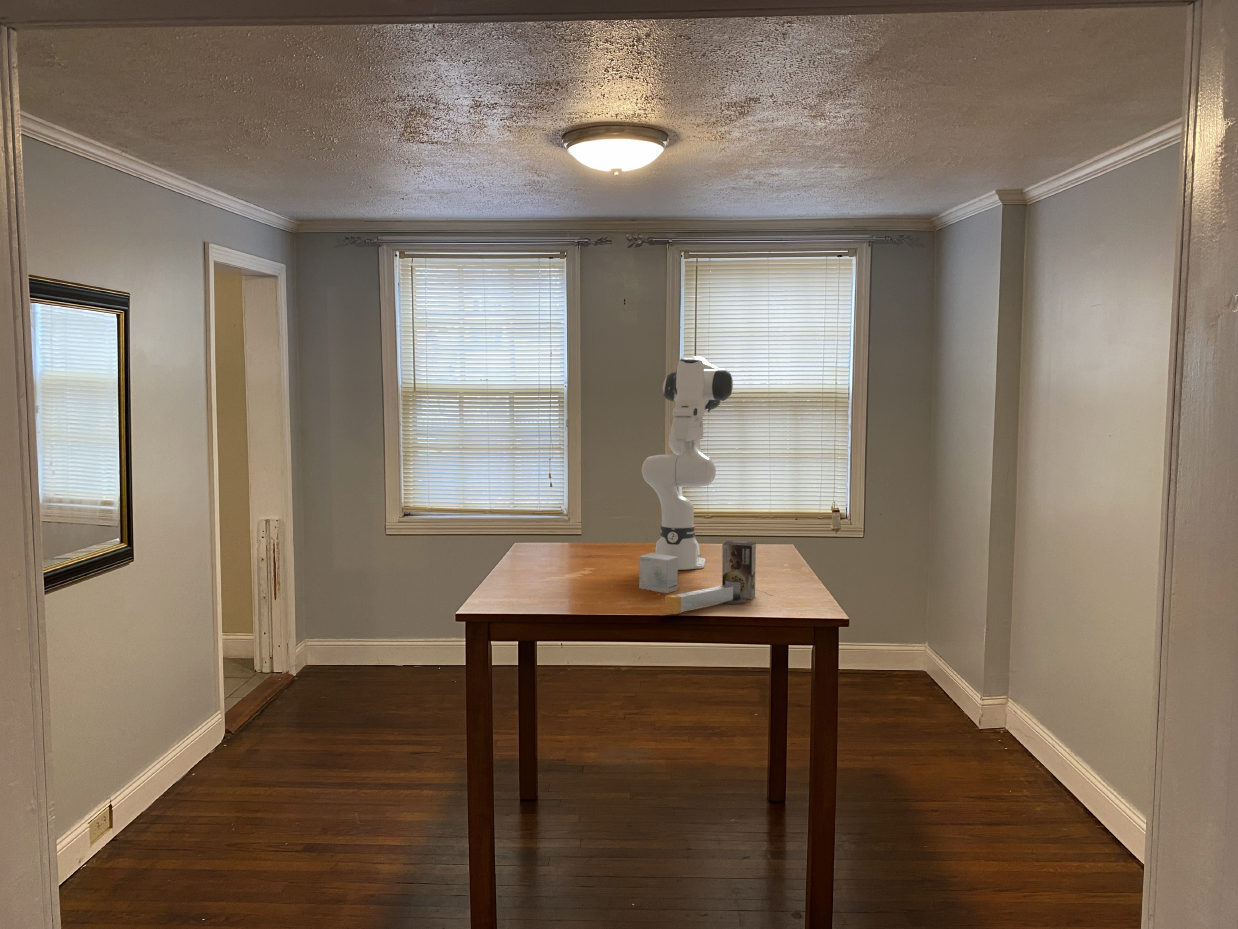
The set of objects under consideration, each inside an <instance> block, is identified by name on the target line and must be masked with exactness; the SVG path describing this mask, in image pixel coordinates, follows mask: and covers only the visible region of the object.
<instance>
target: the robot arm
mask: <svg viewBox="0 0 1238 929" xmlns="http://www.w3.org/2000/svg"><path fill="white" fill-rule="evenodd" d="M676 368H677V369H676V371H672V372H670V373H669V374H667V375H666V377H665V379H664V381H663V385H662V391H663V396H664V398H665V400H668V401H670V402H673V403H674V402H675V406H674V407H673V409H672V416H673V420H672V424H671V427H670V432H669V438H668V447H669V449H670V450H671V452H672V453H674V454H656V455H651V456H647V457H646V459H644V461H643V463H642V466H641V475H642V479H643V480H644V481H645V483H646V484H648V485H649V486H650V487H651V488H652V489H653V490H654V492H655V493H656V495H657V497H658V499H659V502H660V507H661V525H660V529H659V532H660V533H659V534H660V535H659V536H660V538H659V539H658V540H657V541H656V544H655V554H662V555H669V556H675V557H678V571H680V570H681V571H682V570H685V571H687V570H694V569H704V568H705V564H706V558H704V557H701V554H700V544H699V543H698V541H697V539H696V530H697V529H696V525H695V524H694V523H695V522H694V518H695V517H694V514H695V512H694V511H695V507H694V504H693V502H692V501H691V500H690V499H688V498H687V497H685V496H683V495H681V494H680V493H679V491H678V488H679V487H680V488H700V487H707V486H710V485H711V484H712V482H714V480H715V477H716V474H717V469H716V466H715V463H714V461H713V460H712V458H710V457H708V456H707V455H706V454H704V453H703V451H702V450H701V440H702V439H703V436H704V423H703V422H704V420H703V419H704V418H703V417H705V411H706V410H707V413H710V412H711V411H712V410H714V409H716V408H717V407H719V406H720V404H721V403H722V402H723V401H726V400H728V399H729V397H730V396H731V395H732V393H733V391H734V390H733V389H734V380H733V377H732V374H731V372H730V371H728V370H727V369H726V368H721V367H719V366H716V365H714V364H712V363H710V362H709V361H708V360H707V359H706V358H705V357H703V356H700V355H692V356H689V357H684V358H683V357H682V358H680V359H679V360H678V362H677V367H676Z"/></svg>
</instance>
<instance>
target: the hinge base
mask: <svg viewBox="0 0 1238 929" xmlns="http://www.w3.org/2000/svg"><path fill="white" fill-rule="evenodd" d="M745 603H746V599H744V598H741V597H740V600H732V601H727V602H723V603H722V604H724V605H732V606H733V605H734V606H735V605H744V604H745Z"/></svg>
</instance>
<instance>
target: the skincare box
mask: <svg viewBox="0 0 1238 929" xmlns="http://www.w3.org/2000/svg"><path fill="white" fill-rule="evenodd" d="M638 574H639V578H638V579H639V582H638V583H639V585H638V589H640V588H641V589H640V590H645V589H646V590H645V591H650V590H651V591H652V592H657V593H663V594H669V593H672V592H675V591H678V588H679V586H678V582H679V581H678V580H679V579H678V574H679V570H678V557H675V556H669V555H662V554H656V552H655V553H654V552H649V553H646V554H645V553H644V554H642V555H640V556H639V573H638ZM651 591H650V592H651Z"/></svg>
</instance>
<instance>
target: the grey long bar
mask: <svg viewBox="0 0 1238 929" xmlns="http://www.w3.org/2000/svg"><path fill="white" fill-rule="evenodd" d="M740 593H741V581H738V580H726V581H725V585H722V584H721V585H717V586H713V587H707V588H703V589H697V590H693V591H687V592H682V593H678V594H667V595H665V603H664V604H665V605H664V606H665V608H664V609H665V612H666V613H670V614H674V615H677V614H681V613H682V612H685V611H690V610H695V609H698V608H704V607H709V606H713V605H717V604H724V603H723V602H727V601H732V600H740Z"/></svg>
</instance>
